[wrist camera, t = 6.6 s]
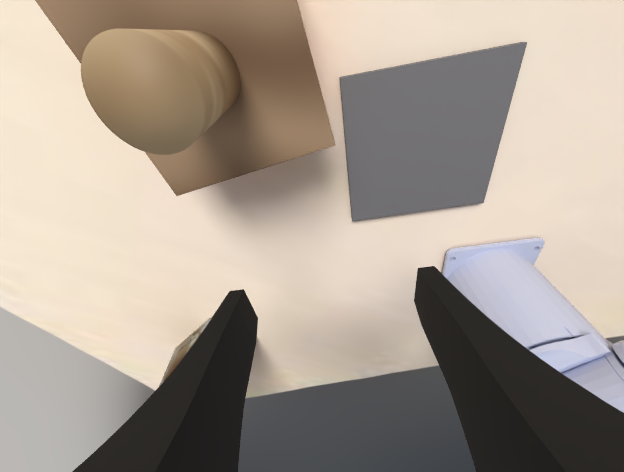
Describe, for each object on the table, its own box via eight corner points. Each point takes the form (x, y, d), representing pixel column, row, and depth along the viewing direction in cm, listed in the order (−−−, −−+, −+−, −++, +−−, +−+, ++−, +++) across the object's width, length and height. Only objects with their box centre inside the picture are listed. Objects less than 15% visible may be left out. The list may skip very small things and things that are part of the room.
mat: (480, 200, 20) (483, 202, 20) (351, 218, 21) (352, 221, 21) (522, 42, 14) (527, 42, 14) (339, 77, 15) (340, 78, 15)
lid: (333, 140, 13) (347, 195, 9) (182, 189, 15) (127, 257, 10) (259, -139, 8) (197, -361, 4) (38, -18, 10) (-200, -63, 5)
